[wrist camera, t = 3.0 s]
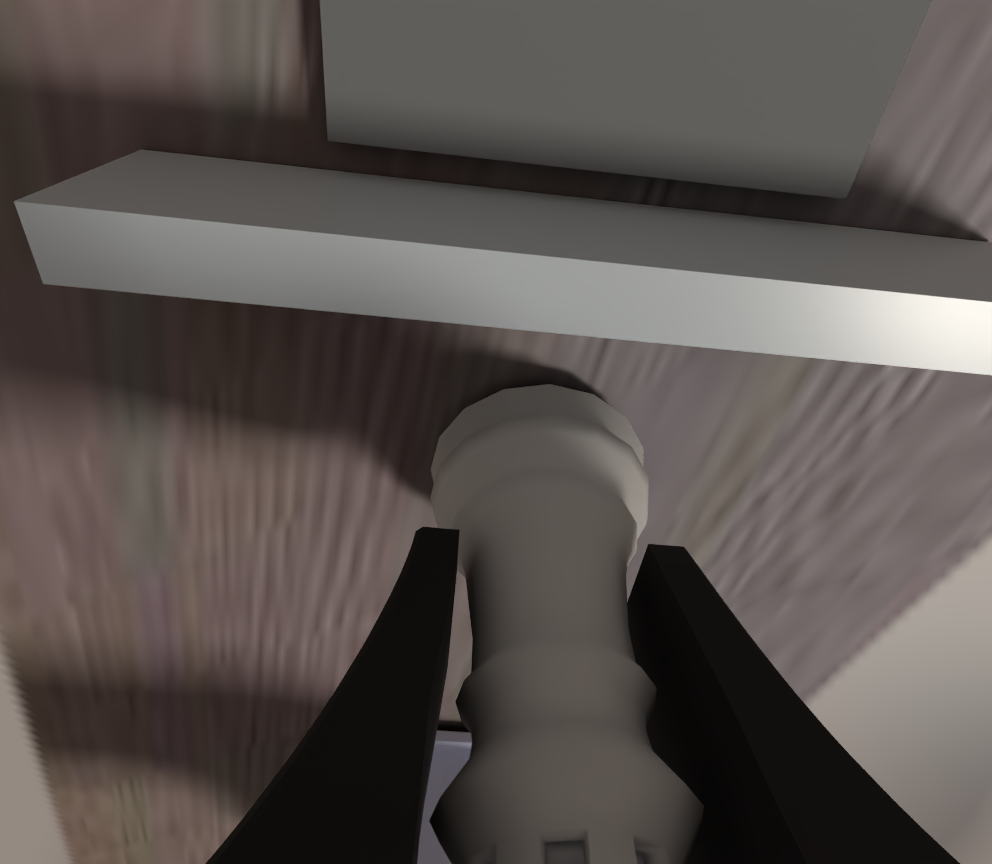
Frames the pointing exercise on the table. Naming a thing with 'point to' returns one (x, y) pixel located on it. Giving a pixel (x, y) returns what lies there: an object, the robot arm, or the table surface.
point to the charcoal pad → (623, 83)
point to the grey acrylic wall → (513, 260)
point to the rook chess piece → (553, 640)
